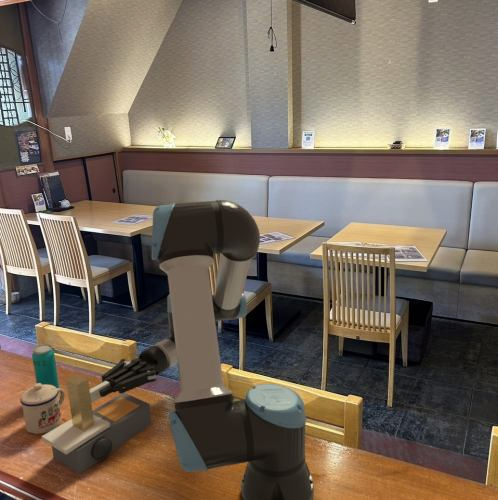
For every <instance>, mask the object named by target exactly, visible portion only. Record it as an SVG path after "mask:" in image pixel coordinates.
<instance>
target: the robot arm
mask: <svg viewBox="0 0 498 500" xmlns="http://www.w3.org/2000/svg"><path fill="white" fill-rule="evenodd" d="M151 230H152V231H151V232H152V235H151V260H152V261H158V263H159V269H160V270H161V271H163V272H164V273H165V274H166V275H167V282H168V288H169V290H168V291H169V294H168V295H167V298H166V299H167V301H166V303H167V318H168V326H169V327H168V329H169V330H168V331H169V336H168V337H166V338H165V339H163V340H161V341H159V342H157V343H155V344H154V345H151V346H149V347H148V348H146V349H144V350H142V351H141V352H140V354H139V356H138V357H137V358H133V359H131V360H130V361H126V359H125V358H122V359H120V360H119V362H118V363H117V364H115V365H114V366H113V367H112V368H110V369H109V370H108V371H106V372H105V373H104V374H102V375H101V382H100V383H98V384H96V385H94V386H93V387H92V388H89V389H90V397H91V404H92V403H94V402H97V401H98V400H100V399H102V398H105V397H107V396H108V395H110V394H112V393H117V392H118V393H119V395H120V394H122V393H127V392H129V391H131V390H133V389H136V388H139V387H141V386H143V385H146V384H149V383H154V382H156V381H157V376H159V375H161V374H163V373H164V372H165V371H167V370H169V369H171V368H172V367H174V366H175V365H177V368H178V369H177V370H178V378H179V386H180V387H179V388H180V390H179V391H180V392H179V394H178V395H177V396H176V398H175V399H174V401H173V404H174V410H173V409H172V410H170V411H169V412H168V413H167V417H168V422H169V424H170V426H169V427H170V430H171V431H170V432H171V436H172V439H173V444H174V447H175V451H176V452H175V453H176V456H177V458H178V462H179V466H180V468H181V469H182V470H183V471H184V472H187V473H193V472H194V473H195V472H202V471H205V472H208V471H209V470H213V469H218V468H222V467H227V466H234V465H239V464H243V463H244V464H245V463H247V464H246V466H245V470H244V473H243V476H242V479H241V484H240V488H241V490H240V491H241V498H242V500H314V497H315V496H314V495H315V491H314V490H315V487H314V480H313V477H312V475H311V472H310V469H309V467H308V464H307V461H306V422H307V417H306V416H307V415H306V410H305V409H306V408H305V402H304V400H303V399H302V397H301V395H299V394H298V393H297V392H296V391H295V390H293V389H291V388H289V387H286V386H284V385H280V384H275V383H262V384H261V383H260V384H256V385H254V386H253V387H252V388H250V389H248V390H247V393H246V395H245V397H244V398H245V399H240V400H234V397H233V396H234V394H233V391H232V390H231V389H229V388H228V387H227V386H226V385H225V384H224V379H223V372H222V371H223V369H222V363H221V356H220V349H219V341H218V333H217V327H216V322H221V321H228V320H232V321H233V320H236V319H240V318H241V319H242V318H245V317H246V316H247V314H248V302H247V297H246V295H245V293H244V288H245V284H246V282H247V281H246V280H247V277H248V272H249V269H250V265H251V261H252V259H254V258H255V257H256V255H257V253H258V250H259V248H260V247H259V246H260V243H261V235H260V229H259V227H258V224H257V222H256V220H255V218H254V217H253V216H252V215H251V214H250V212H249V211H248V210H246V208H244V207H243V206H241V205H240V204H239V203H236V202H234V201H230V200H225V199H217V200H211V201H210V200H207V201H193V202H180V203H179V202H178V203H176V202H173V203H169V204H161V205H158V206H156V207H154V209H153V212H152V229H151ZM218 254H219V262H218V267H217V273H216V282H215V288H214V294H212V290H211V289H212V288H211V281H210V274H209V270H210V267H212V265H213V264H214V262H215V257H214V255H218Z"/></svg>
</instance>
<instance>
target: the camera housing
mask: <svg viewBox="0 0 498 500" xmlns="http://www.w3.org/2000/svg"><path fill="white" fill-rule="evenodd" d="M92 412H93V415H95V416H97V417H99V418H101V419H103V420H105V421H107V422H109V423H110V427H109V428H107V429H105V430H104V431H102V432H101V433H99V434H98V435H96V436H94V437H93V438H91V439H90V440H88V441H87V442H85V443H83V444H82V445H80V446H79V447H77V448H76V449H74V450H73V451H71V452H69V453H68V454H64V453H63V452H61V451H60V450H58V449H56V448H55V447H53V446H51V450H52V456H53V458H54V459H55V460H57V461H58V462H60V463H61V464H63V465H65V466H66V467H67V468H69V469H71V470H73V471H74V472H76V473H77V474H80V475H81V474H82V473H84V472H85V471H86V470H88V469H90V468H91V467H93V465H95V464H96V463H98V462H102V461H104V460H106V459H107V458H108V457H109V455H110V454H111V453H112V452H114V451H115V450H117V449H118V448H120V447H122V446H123V445H124V444H125V443H127V442H129V441H130V440H131V439H134V437H136V436H138V435H139V434H140V433H142V432H143V431H145V430H146V429H148V428H149V427H151V426H152V424H153V423H152V412H151V403H149V402H146V401H145V400H142V399H140V398H138V397H135V396H133V395H130V394H128V393H127V392H124V393H121V394H120V393H119V394H118V395H116V396H115V397H113V398H111V399H110V400H108V401H107V402H105V403H103V404H101V405H99V406H98V407H96V408H95V409H92Z"/></svg>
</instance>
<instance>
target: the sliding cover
mask: <svg viewBox="0 0 498 500" xmlns="http://www.w3.org/2000/svg"><path fill="white" fill-rule="evenodd" d="M65 381H66V386H67V387H66V388H67V396H68V400H69V401H68V402H69V408H70V416H71V419H69V420H68V421H65V422H64V423H62V424H61V425H60V424H59V425H58V426H57V427H56V428H55V429H53V430H51V431H49V432H46V433H44V435H42V436H41V440H42V441H43V442H44V443H46V444H47V445H50V446H51V447H52V446H53V447H55V448H56V449H58V450H60V451H61V452H63V453H64V454H68V453H69V452H71V451H73V450H74V449H76V448H77V447H79V446H80V445H82V444H83V443H85V442H87V441H88V440H90V439H91V438H93V437H94V436H96V435H98V434H99V433H101V432H102V431H104V430H105V429H107V428H109V427H110V423H109V422H107V421H105V420H103V419H101V418H99V417H97V416H95V415H93V412H92V411H93V404H92V403H91V397H90V389H91V388H90V383H89V382H90V381H89V379H88V378H86V377H85V376H82V375H80V374H77V373H76V374H75V375H73V376H70V377H68V378H66V380H65Z"/></svg>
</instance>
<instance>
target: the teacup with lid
mask: <svg viewBox="0 0 498 500" xmlns="http://www.w3.org/2000/svg"><path fill="white" fill-rule="evenodd" d="M58 392H59V393H58ZM59 394H60V397H59ZM65 396H66V393H65V390H64V389H63V388H60V387H59V388H56V387H55V386H53V385H42V384H41V383H35V384H34V385H33V386H32V387H30V388H27V390H25V391H24V392H23V393H22V394H21V395H20V399H19V400H20V403H21V407H22V412H23V419H24V423H25V429H26V430H27V432H28V433H31V434H35V435H40V434H47V433H48V432H50V431H52V430H53V429H55V428H57V427H59V426H60V424H61V423H62V413H61V406H62V404H63V403H64V401H65Z"/></svg>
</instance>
